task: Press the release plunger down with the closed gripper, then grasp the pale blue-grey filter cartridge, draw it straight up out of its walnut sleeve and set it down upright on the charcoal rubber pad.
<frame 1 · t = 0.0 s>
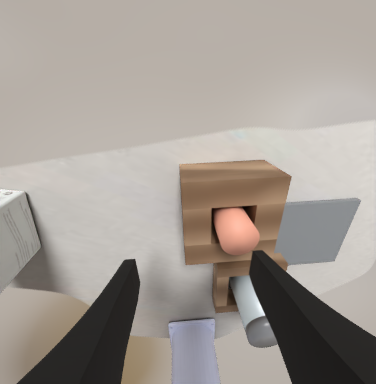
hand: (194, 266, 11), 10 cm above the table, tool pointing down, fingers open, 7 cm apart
skincare box: (11, 219, 20), on the table
filter cartridge: (242, 274, 27), resting in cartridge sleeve
release plunger: (231, 222, 17), point 4 cm above the table, slide at 0.0 cm
plunger housing: (220, 199, 21), on the table
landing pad: (306, 233, 24), on the table
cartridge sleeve: (243, 274, 26), on the table
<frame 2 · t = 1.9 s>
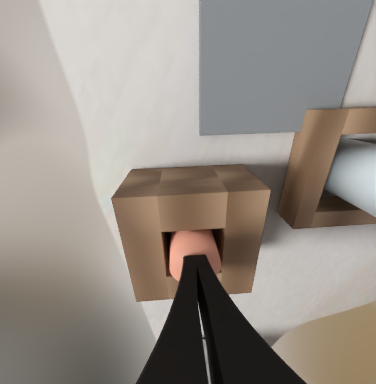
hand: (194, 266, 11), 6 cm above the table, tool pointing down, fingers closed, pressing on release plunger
filter cartridge: (337, 165, 15), resting in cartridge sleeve
release plunger: (192, 239, 13), point 4 cm above the table, slide at 0.9 cm, touching gripper
plunger housing: (188, 213, 16), on the table
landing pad: (276, 50, 11), on the table
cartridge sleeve: (338, 165, 15), on the table
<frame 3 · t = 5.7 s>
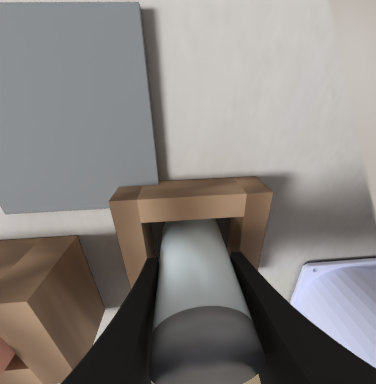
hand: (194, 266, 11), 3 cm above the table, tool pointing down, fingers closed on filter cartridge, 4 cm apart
filter cartridge: (190, 233, 14), resting in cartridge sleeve, touching gripper
release plunger: (6, 322, 12), point 3 cm above the table, slide at 1.3 cm
plunger housing: (38, 281, 15), on the table
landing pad: (64, 128, 10), on the table
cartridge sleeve: (190, 233, 14), on the table
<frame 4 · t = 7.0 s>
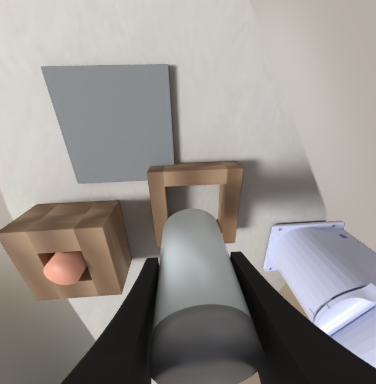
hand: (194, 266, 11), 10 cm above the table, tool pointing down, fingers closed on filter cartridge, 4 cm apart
filter cartridge: (190, 232, 14), point 7 cm above the table, touching gripper
release plunger: (75, 253, 19), point 3 cm above the table, slide at 1.3 cm
plunger housing: (88, 234, 22), on the table
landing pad: (119, 130, 17), on the table
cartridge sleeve: (193, 200, 21), on the table
when the fingers open (6 cm above the table, at t = 8.8 s): filter cartridge drops 2 cm, resting on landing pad.
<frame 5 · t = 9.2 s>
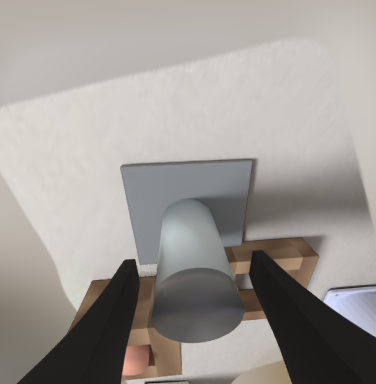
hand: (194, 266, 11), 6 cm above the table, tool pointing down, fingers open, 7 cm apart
filter cartridge: (187, 220, 16), point 1 cm above the table, touching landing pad
release plunger: (135, 335, 18), point 3 cm above the table, slide at 1.3 cm
plunger housing: (140, 303, 21), on the table
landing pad: (188, 215, 16), on the table
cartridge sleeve: (252, 271, 20), on the table
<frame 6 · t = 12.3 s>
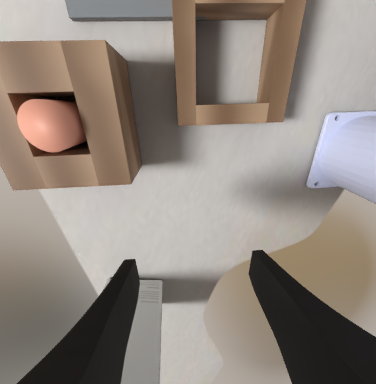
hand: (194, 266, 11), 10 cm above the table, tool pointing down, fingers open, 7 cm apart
skincare box: (137, 289, 27), on the table
release plunger: (67, 123, 14), point 3 cm above the table, slide at 1.3 cm
plunger housing: (85, 120, 16), on the table
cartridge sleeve: (227, 65, 15), on the table
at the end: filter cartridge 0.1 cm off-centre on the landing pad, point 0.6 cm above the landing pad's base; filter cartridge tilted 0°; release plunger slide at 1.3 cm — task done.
